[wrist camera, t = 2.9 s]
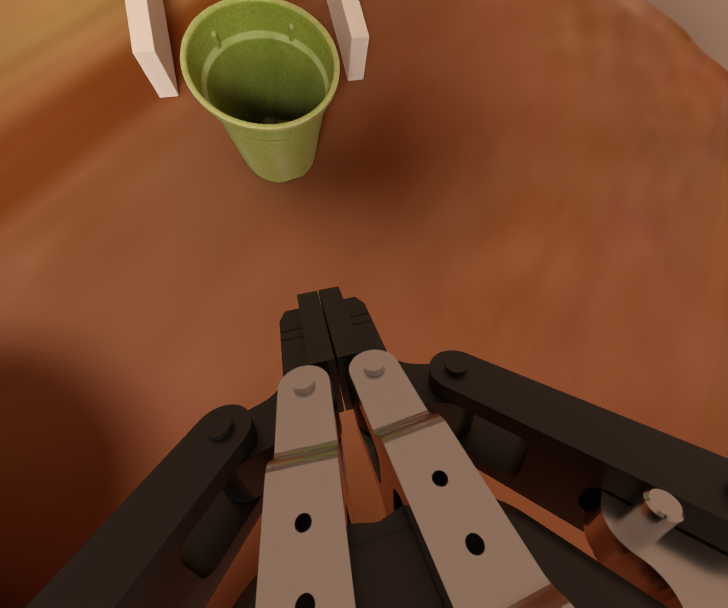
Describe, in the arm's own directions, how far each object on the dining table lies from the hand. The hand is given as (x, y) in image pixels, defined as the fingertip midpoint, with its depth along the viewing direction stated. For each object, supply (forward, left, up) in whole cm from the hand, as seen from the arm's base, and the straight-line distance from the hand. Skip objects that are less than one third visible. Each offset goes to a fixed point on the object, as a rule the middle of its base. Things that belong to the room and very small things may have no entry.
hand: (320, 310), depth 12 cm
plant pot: (0, +17, -14) cm, 22 cm away
